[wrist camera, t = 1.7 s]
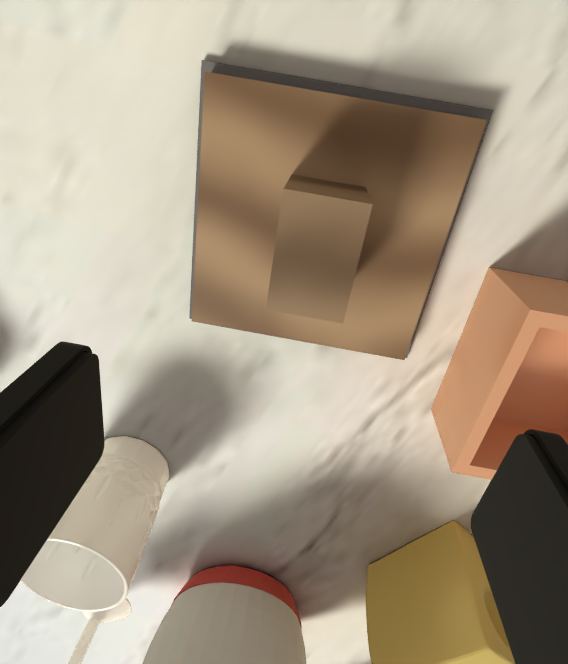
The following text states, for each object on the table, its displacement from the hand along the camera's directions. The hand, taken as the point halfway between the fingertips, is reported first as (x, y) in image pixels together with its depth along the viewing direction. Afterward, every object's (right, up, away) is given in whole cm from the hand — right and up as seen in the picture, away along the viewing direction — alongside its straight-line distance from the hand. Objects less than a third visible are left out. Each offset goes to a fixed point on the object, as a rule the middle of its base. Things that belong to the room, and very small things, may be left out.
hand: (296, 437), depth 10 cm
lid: (+2, +8, +16) cm, 18 cm away
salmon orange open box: (+17, +1, +18) cm, 25 cm away
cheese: (+14, -19, +30) cm, 38 cm away
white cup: (-13, -9, +27) cm, 32 cm away
